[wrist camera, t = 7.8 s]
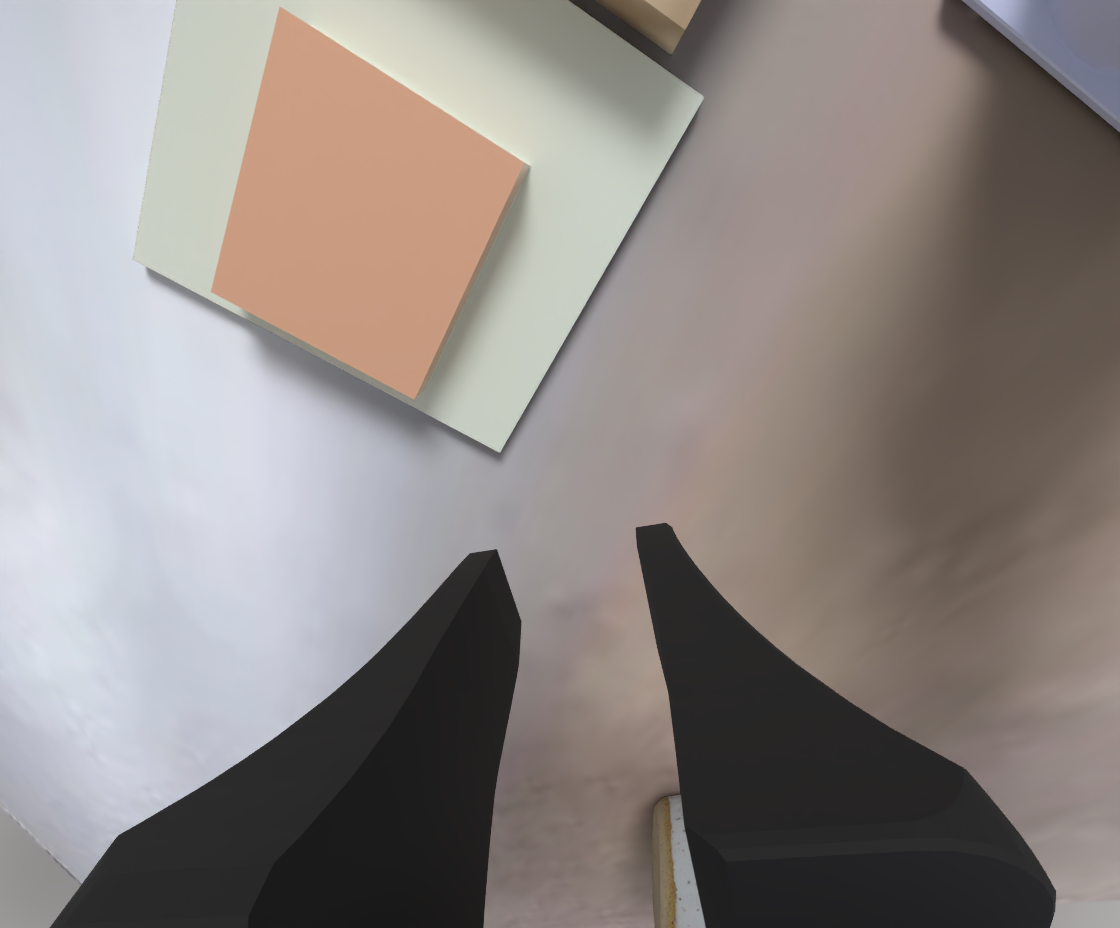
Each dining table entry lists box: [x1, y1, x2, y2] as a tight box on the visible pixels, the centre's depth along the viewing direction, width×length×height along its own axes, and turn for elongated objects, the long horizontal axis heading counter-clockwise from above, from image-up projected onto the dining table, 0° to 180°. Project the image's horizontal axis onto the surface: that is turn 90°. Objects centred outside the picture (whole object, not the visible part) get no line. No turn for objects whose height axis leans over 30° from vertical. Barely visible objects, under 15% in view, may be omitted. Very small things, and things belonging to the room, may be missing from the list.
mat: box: [133, 0, 704, 453], centre depth 17 cm, size 14×13×1 cm
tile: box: [211, 7, 530, 400], centre depth 16 cm, size 7×2×8 cm
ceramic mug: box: [652, 795, 706, 928], centre depth 28 cm, size 11×8×8 cm
